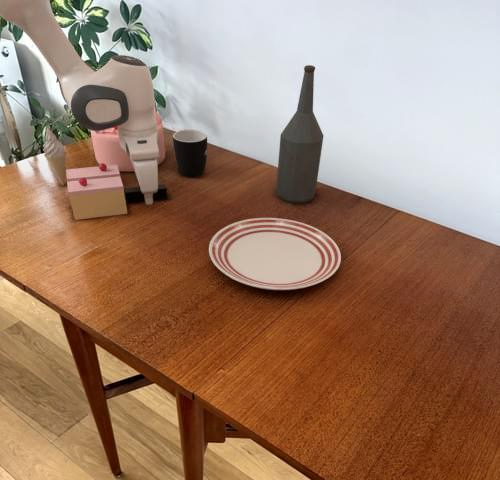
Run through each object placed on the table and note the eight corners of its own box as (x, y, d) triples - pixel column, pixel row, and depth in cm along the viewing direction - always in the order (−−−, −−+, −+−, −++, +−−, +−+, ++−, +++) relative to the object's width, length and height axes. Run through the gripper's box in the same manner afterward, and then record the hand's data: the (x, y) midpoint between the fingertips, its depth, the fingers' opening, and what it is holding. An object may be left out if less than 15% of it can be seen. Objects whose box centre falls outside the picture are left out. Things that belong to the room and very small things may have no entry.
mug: (211, 178, 126) (210, 140, 119) (178, 181, 124) (175, 143, 117) (202, 160, 134) (201, 124, 127) (171, 162, 132) (168, 126, 126)
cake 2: (179, 159, 134) (175, 107, 125) (121, 179, 124) (112, 124, 114) (138, 139, 144) (132, 90, 134) (81, 157, 133) (70, 104, 123)
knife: (72, 210, 111) (68, 194, 108) (71, 205, 112) (67, 190, 110) (167, 199, 116) (166, 184, 114) (165, 195, 118) (164, 180, 115)
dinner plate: (245, 217, 111) (245, 204, 109) (354, 247, 103) (357, 234, 101) (184, 276, 93) (183, 262, 91) (311, 319, 85) (314, 305, 83)
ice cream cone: (48, 185, 120) (32, 125, 109) (64, 179, 123) (50, 120, 112) (61, 191, 118) (45, 130, 107) (77, 184, 121) (63, 124, 110)
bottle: (281, 183, 125) (292, 57, 105) (317, 189, 123) (335, 62, 103) (272, 201, 118) (282, 69, 97) (310, 207, 116) (328, 74, 96)
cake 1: (75, 220, 108) (66, 184, 102) (72, 196, 116) (64, 162, 110) (127, 213, 111) (121, 178, 105) (121, 191, 119) (116, 157, 113)
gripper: (119, 122, 112) (127, 177, 121) (130, 156, 98) (139, 215, 107) (145, 120, 114) (151, 175, 123) (160, 153, 99) (166, 211, 109)
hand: (145, 194), depth 115 cm, fingers open, 8 cm apart
